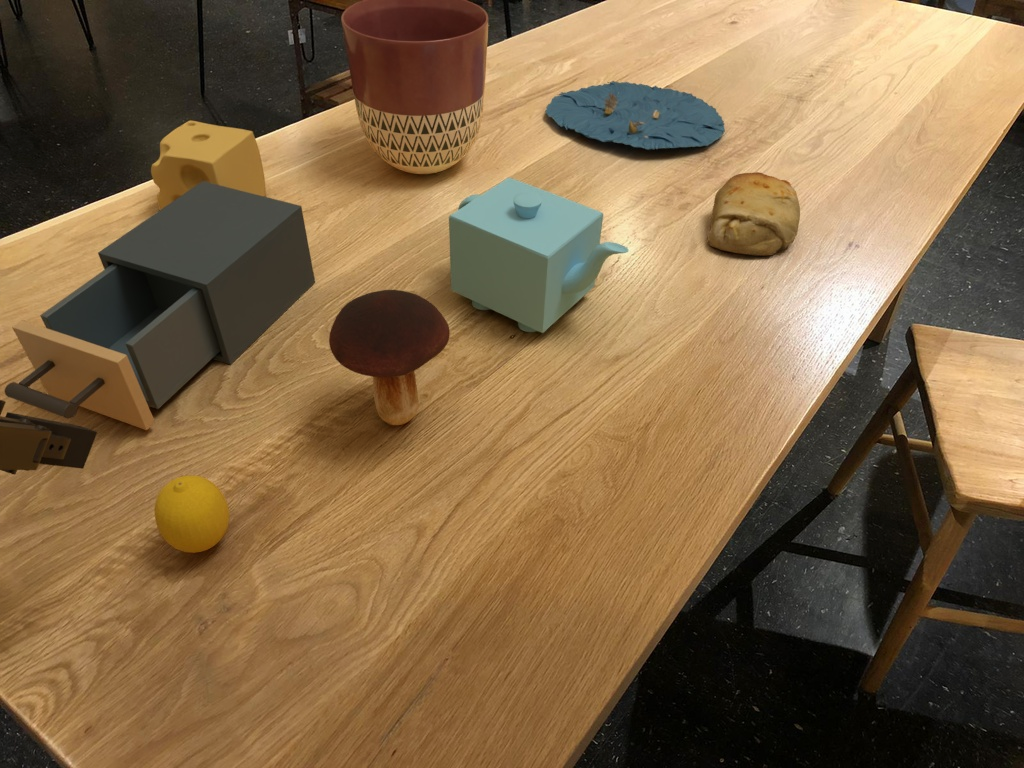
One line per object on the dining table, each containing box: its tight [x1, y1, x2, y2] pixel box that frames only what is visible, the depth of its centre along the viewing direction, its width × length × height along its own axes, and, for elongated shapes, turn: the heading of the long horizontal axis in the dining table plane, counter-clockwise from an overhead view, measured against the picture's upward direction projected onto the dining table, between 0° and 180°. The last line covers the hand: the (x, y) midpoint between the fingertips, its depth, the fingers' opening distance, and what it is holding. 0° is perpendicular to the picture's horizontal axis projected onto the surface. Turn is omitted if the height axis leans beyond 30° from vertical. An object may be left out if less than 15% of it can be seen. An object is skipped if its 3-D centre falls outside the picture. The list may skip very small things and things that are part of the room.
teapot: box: [448, 176, 629, 334], centre depth 87 cm, size 22×11×14 cm, turn 54°
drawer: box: [4, 263, 221, 431], centre depth 76 cm, size 20×12×9 cm, turn 158°
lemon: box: [154, 474, 230, 554], centre depth 63 cm, size 6×6×8 cm
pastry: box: [706, 171, 801, 257], centre depth 102 cm, size 14×12×8 cm
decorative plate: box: [544, 80, 726, 151], centre depth 128 cm, size 30×30×5 cm
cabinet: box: [97, 181, 316, 366], centre depth 86 cm, size 17×14×11 cm
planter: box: [340, 0, 489, 175], centre depth 109 cm, size 20×20×21 cm
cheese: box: [150, 119, 267, 211], centre depth 102 cm, size 10×11×10 cm
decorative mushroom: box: [328, 289, 450, 426], centre depth 72 cm, size 11×11×15 cm
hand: (81, 447), depth 54 cm, fingers closed
